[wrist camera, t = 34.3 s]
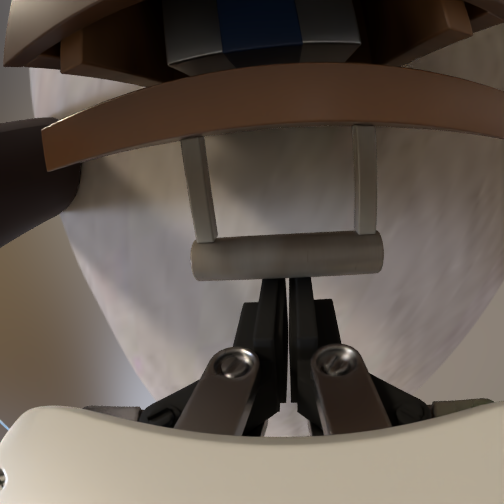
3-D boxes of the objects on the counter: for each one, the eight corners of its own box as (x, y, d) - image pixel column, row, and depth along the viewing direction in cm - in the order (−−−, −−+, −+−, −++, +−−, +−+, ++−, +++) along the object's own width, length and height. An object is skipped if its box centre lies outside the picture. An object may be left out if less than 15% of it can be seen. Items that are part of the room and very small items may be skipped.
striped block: (326, -10, 8) (337, -50, 5) (341, 68, 9) (363, 45, 6) (190, 6, 9) (159, -26, 5) (198, 82, 10) (165, 67, 7)
